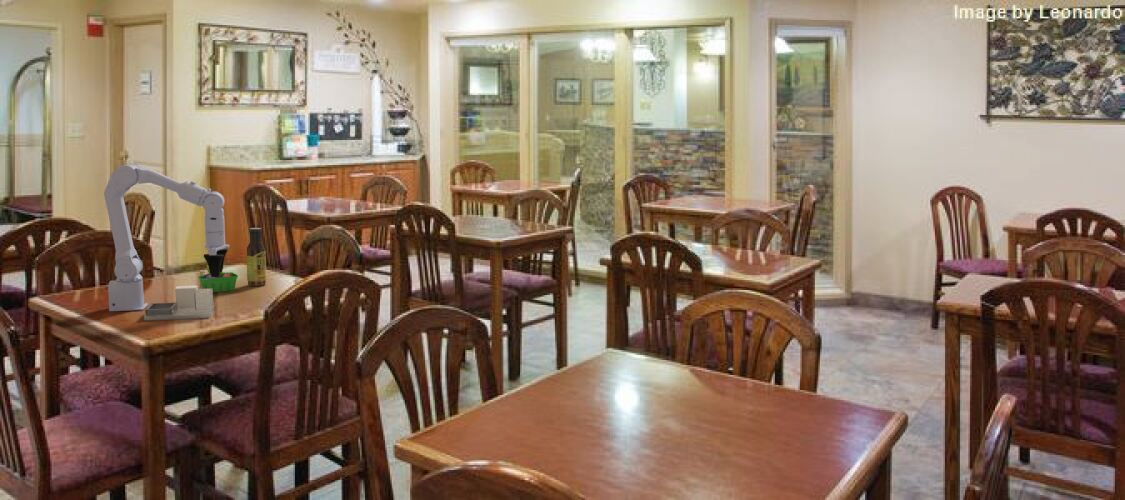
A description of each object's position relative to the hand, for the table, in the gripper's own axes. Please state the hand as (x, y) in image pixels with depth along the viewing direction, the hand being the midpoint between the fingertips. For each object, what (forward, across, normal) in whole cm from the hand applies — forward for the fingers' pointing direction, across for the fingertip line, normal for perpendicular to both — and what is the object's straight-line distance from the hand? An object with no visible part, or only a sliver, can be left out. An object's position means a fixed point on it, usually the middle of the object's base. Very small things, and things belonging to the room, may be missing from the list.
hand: (216, 274), depth 283 cm
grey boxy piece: (+10, -12, +9) cm, 18 cm away
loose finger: (+10, +1, +9) cm, 13 cm away
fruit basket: (+10, +24, +3) cm, 26 cm away
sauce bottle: (+10, +30, -9) cm, 33 cm away
